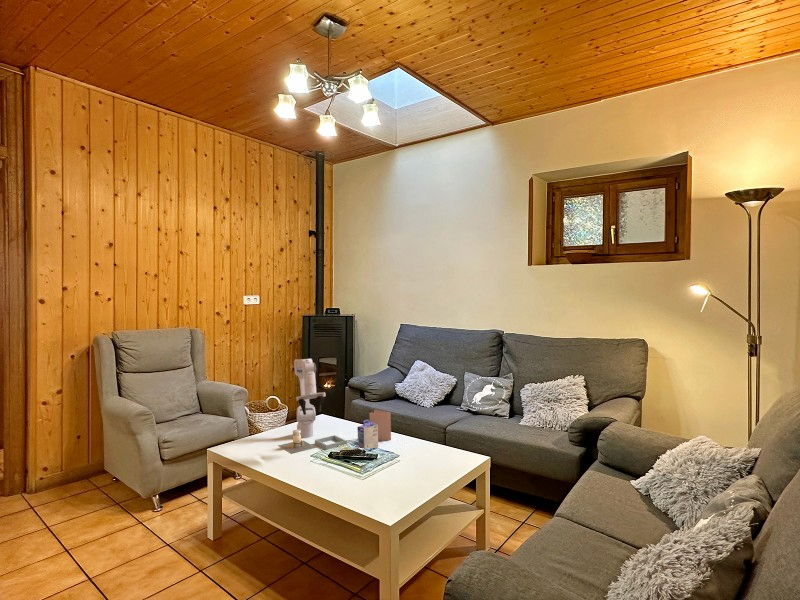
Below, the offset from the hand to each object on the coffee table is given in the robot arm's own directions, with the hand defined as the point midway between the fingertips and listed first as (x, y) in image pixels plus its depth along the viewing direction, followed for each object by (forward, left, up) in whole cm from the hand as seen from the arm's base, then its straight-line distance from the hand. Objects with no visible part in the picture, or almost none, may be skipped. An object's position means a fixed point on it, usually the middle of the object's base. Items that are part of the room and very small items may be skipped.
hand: (312, 413), depth 226 cm
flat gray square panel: (-10, -3, -20) cm, 23 cm away
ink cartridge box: (+13, +25, -20) cm, 34 cm away
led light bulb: (-10, -3, -19) cm, 22 cm away
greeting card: (+5, +38, -20) cm, 43 cm away
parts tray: (-2, +12, -20) cm, 23 cm away
